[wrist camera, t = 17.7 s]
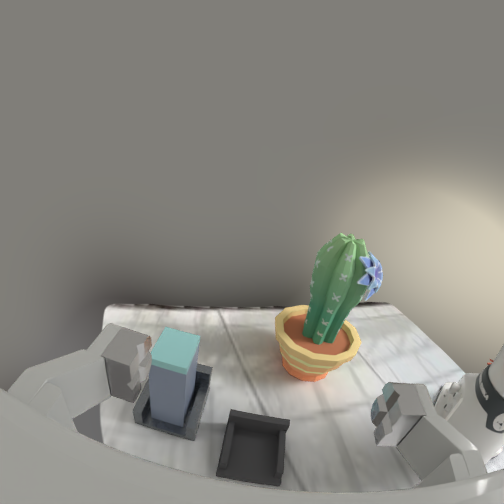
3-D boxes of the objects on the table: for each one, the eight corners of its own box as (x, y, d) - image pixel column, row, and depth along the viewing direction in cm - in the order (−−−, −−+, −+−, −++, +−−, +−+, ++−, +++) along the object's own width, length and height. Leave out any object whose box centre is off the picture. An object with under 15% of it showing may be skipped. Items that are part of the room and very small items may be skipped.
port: (194, 440, 35) (197, 416, 32) (134, 422, 35) (130, 395, 32) (209, 389, 44) (213, 362, 41) (157, 375, 44) (157, 347, 42)
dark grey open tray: (279, 486, 30) (287, 475, 29) (215, 475, 30) (218, 464, 29) (282, 433, 38) (289, 419, 37) (227, 423, 39) (230, 409, 37)
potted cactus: (278, 400, 44) (329, 255, 35) (255, 338, 58) (285, 212, 48) (358, 388, 49) (419, 263, 39) (325, 336, 62) (365, 223, 52)
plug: (182, 426, 36) (186, 368, 31) (151, 417, 36) (147, 357, 31) (193, 396, 41) (200, 336, 37) (164, 387, 41) (165, 326, 37)
